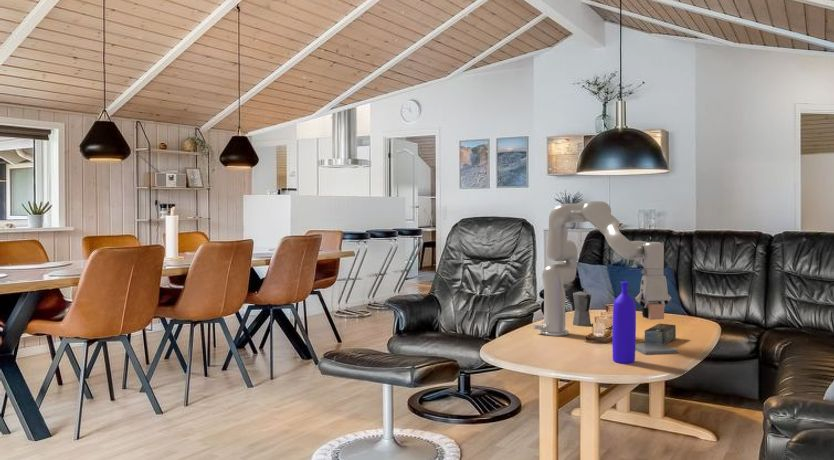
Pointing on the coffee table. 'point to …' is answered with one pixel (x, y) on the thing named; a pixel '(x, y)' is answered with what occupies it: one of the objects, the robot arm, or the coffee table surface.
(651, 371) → the coffee table surface
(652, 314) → the cube
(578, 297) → the coffeepot
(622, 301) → the bottle
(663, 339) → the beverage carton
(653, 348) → the coaster
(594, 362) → the coffee table surface
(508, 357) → the coffee table surface
